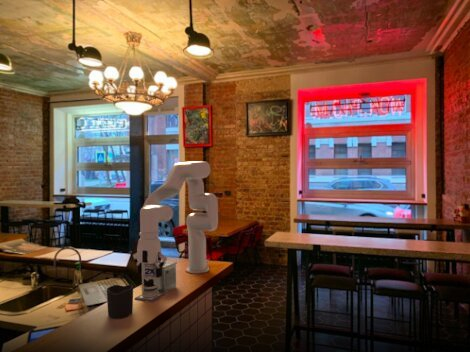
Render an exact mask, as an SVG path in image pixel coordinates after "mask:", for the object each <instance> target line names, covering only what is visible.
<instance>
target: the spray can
mask: <svg viewBox="0 0 470 352" xmlns="http://www.w3.org/2000/svg"><path fill="white" fill-rule="evenodd" d="M147 256H148V251H145V250H144V251H142V274H141V295H142V296H143V297H145V298H153V297H156V296H157V295H158V278H156V268H157V266H156V265H155V264H149V263H148V260H147Z"/></svg>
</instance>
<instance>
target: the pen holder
mask: <svg viewBox="0 0 470 352" xmlns="http://www.w3.org/2000/svg"><path fill="white" fill-rule="evenodd" d="M106 296H107V297H106V298H107V299H106V300H107V301H106V302H107V314H108V317H109V318H110V319H115V320H121V319H125V318H127V317H130V316H131V315H132V314H133V309H134V308H133V306H134V305H133V304H134V285H133V284H127V285H120V284H119V285H118V284H114V285H111V286H109V287H107V288H106Z"/></svg>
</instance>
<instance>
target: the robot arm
mask: <svg viewBox="0 0 470 352" xmlns="http://www.w3.org/2000/svg"><path fill="white" fill-rule="evenodd" d="M169 170H170V171H169V172H168V174H167V176H166V178H165V180H164V182H163V184H162V185H161V186H159V187H158V188H156V189H155V190H153V191H152V192H151V193H150V194H149V195H148V197H147V198H146V199H145V201H144V203H143V206H142V207H141V208H140V210H139V223H140V226H139V229H140V230H139V231H140V232H139V233H138V235H139V237H140V238H138V241H137V246H136V249H137V250H136V253H133V254H132V258H133V259H134V262H135V263H136V266H137V275H138V276H142V251H144V250H145V251H148V256H147V260H148V263H149V264H155V265H156V266H157V268H156V278H159V277H161V276H162V267H163V266H164V264H165V263H166V261H168V260H167V259H168V257H167V256H166V255H164V254H163V253H162V246H161V245H162V243H161V240H160V238H159V223H166V222H169V221H171V219H172V218H173V217H174V210H173V208H172V207H171V206H169V205H166V204H160V203H162V202H163V201H165V200H167V199H170V198H172V197H175V196H178V195H179V194H180V192H181V190H182V187H183V185H184V184H185V181H186V183H187V188H188V189H187V190H188V192H187V194H188V206H189V209H190V210H192V211H205V212H192V213H189V214H188V215H187V217H186V219H185V220H186V221H185V223H186V226H187V227H186V229H187V234H188V235H187V236H188V238H187V239H188V240H187V242H188V245H187V246H188V266H187V267H186V268H185V272H187V274H188V273H189V274H203V273H206V272H209V271H210V268H209V266H207V264H210V260H209V259H207V238H206V235H205V232H206V231H207V232H213V231H215V230H217V228H218V224H219V210H218V209H219V203H218V202H219V201H218V198H217V196H216V195H215V194H214V193H212V192H211V193H209V192H205V184H204V181H203V179H205V178H207V177H209V176H210V173H211V165H210V164H209V162H208V161H201V160H200V161H184V162H176V163H174V164H173V165H172V167H171V168H170V169H169ZM204 231H205V232H204ZM161 261H162V262H161ZM158 263H159V264H158Z"/></svg>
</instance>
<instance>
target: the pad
mask: <svg viewBox="0 0 470 352" xmlns="http://www.w3.org/2000/svg"><path fill="white" fill-rule="evenodd" d="M165 296H166V293H165V294H164V293H158V295H157V296H156V297H153V298H145V297H143V296H142V294H140V295H137V296H136V297H134V300H136V301H141V302H142V301H143V302H146V301H147V302H146V303H154V302H155V301H158V300H159V299H161V298H163V297H165Z"/></svg>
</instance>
